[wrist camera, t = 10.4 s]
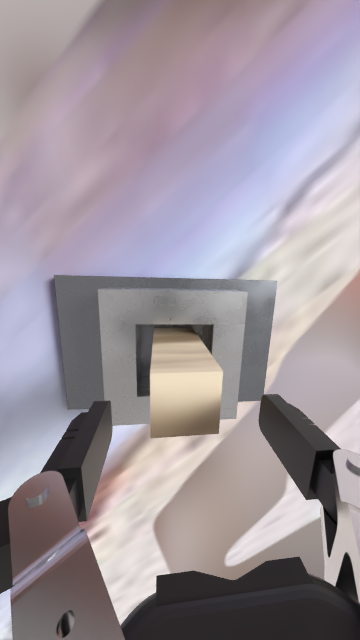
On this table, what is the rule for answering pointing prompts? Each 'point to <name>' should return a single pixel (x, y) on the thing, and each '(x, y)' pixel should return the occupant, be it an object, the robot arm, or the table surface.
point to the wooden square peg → (183, 385)
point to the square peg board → (138, 328)
